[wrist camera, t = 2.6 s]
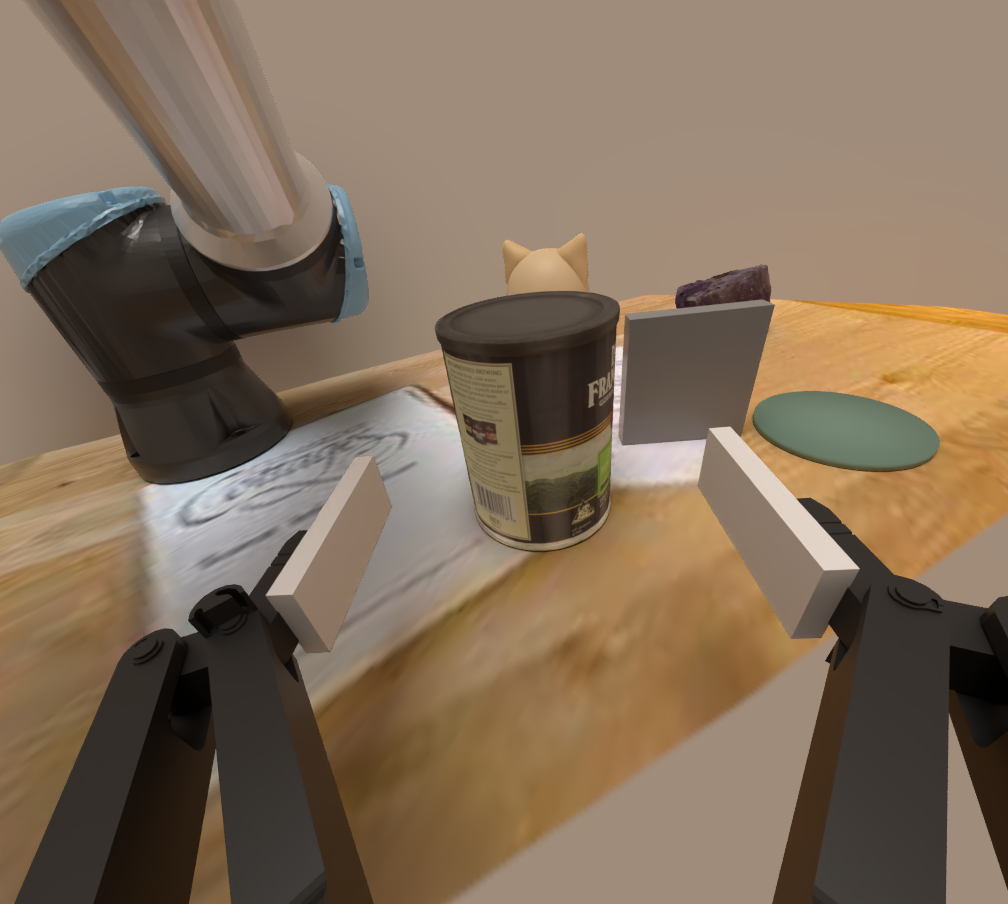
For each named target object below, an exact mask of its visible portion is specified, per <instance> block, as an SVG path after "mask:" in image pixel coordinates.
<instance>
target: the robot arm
mask: <svg viewBox="0 0 1008 904" xmlns="http://www.w3.org/2000/svg"><path fill="white" fill-rule="evenodd" d="M22 1H23V2H24V3H25V4H26V6H27V7H28V8H29V9H30V11H31V12H32V13H33V14H34V15H35V17H36V18H37V20H38V21H39V22H40V23H41V25H42V26H43V27H44V28H45V30H46V31H47V32H48V33H49V35H50V36H51V37H52V38H53V40H54V41H55V42H56V43H57V45H58V46H59V47H60V48H61V50H62V51H63V52H64V53H65V55H66V56H67V57H68V58H69V60H70V61H71V62H72V64H73V65H74V66H75V67H76V69H77V70H78V71H79V72H80V74H81V75H82V76H83V77H84V79H85V80H86V81H87V82H88V84H89V85H90V86H91V87H92V89H93V90H94V91H95V93H96V94H97V95H98V96H99V97H100V99H101V100H102V101H103V103H104V104H105V105H106V106H107V108H108V109H109V110H110V111H111V113H112V114H113V115H114V116H115V117H116V119H117V120H118V122H119V123H120V124H121V125H122V127H123V128H124V129H125V130H126V132H127V133H128V134H129V135H130V137H131V138H132V139H133V140H134V141H135V143H136V144H137V145H138V147H139V148H140V149H141V150H142V152H143V153H144V154H145V155H146V157H147V158H148V159H149V160H150V162H151V163H152V164H153V165H154V167H155V168H156V169H157V171H158V172H159V173H160V174H161V176H162V177H163V178H164V179H165V181H166V182H167V183H168V184H169V186H170V187H171V195H170V205H167V203H166V201H165V199H164V198H162V197H161V196H160V195H159V194H158V193H157V192H156V191H155V190H154V189H152V188H148V187H123V188H115V189H109V190H105V191H101V192H94V193H93V192H89V193H84V194H79V195H75V196H70V197H65V198H61V199H57V200H53V201H49V202H45V203H42V204H39V205H35V206H32V207H29V208H26V209H23V210H20V211H17V212H15V213H13V214H11V215H9V216H7V217H5V218H4V219H3V220H2V221H1V222H0V250H1V251H2V253H3V255H4V256H5V258H6V259H7V261H8V262H9V264H10V266H11V267H12V269H13V270H14V272H15V274H16V275H17V277H18V278H19V280H20V283H21V286H22V287H23V289H24V290H25V291H26V292H28V293H30V294H31V296H32V297H33V298H34V300H35V301H36V302H37V304H38V305H39V306H40V308H41V309H42V310H43V311H44V313H45V314H46V315H47V317H48V318H49V319H50V321H51V322H52V323H53V325H54V326H55V327H56V329H57V330H58V331H59V332H60V334H61V335H62V336H63V338H64V339H65V340H66V342H67V343H68V344H69V346H70V347H71V348H72V350H73V351H74V352H75V353H76V355H77V356H78V357H79V359H80V360H81V361H82V363H83V364H84V365H85V366H86V368H87V369H88V371H89V372H90V373H91V375H92V376H93V377H94V378H95V380H96V381H97V382H98V384H99V385H100V386H101V388H102V389H103V390H104V392H105V393H106V394H107V396H108V397H109V399H110V400H111V402H112V404H113V407H114V411H115V414H116V417H117V421H118V425H119V429H120V433H121V436H122V440H123V443H124V447H125V449H126V454H127V458H128V460H129V462H130V463H131V464H132V466H133V467H134V468H135V469H136V471H137V472H138V473H139V475H140V476H141V477H142V478H143V479H144V480H146V481H149V482H153V483H176V482H183V481H189V480H193V479H198V478H201V477H205V476H209V475H212V474H215V473H218V472H221V471H224V470H226V469H229V468H231V467H234V466H236V465H238V464H241V463H243V462H245V461H247V460H249V459H251V458H253V457H255V456H257V455H258V454H260V453H262V452H263V451H265V450H267V449H268V448H270V447H271V446H272V445H274V444H275V443H276V442H278V441H279V440H280V439H281V438H282V437H283V436H284V435H285V434H286V433H287V431H288V430H289V428H290V426H291V422H292V420H291V417H290V415H289V413H288V411H287V409H286V407H285V405H284V403H283V402H282V400H281V399H280V398H279V397H278V396H277V395H276V394H275V393H274V392H273V391H272V390H271V389H270V388H269V387H268V386H267V385H266V384H265V383H264V382H263V381H262V380H261V379H260V378H259V377H258V375H257V374H255V372H254V371H253V370H252V369H251V368H250V367H249V366H248V365H247V364H246V363H245V361H244V360H243V358H242V356H241V354H240V352H239V350H238V348H237V346H236V344H235V342H234V340H238V339H244V338H248V337H253V336H258V335H263V334H268V333H274V332H279V331H284V330H289V329H294V328H299V327H304V326H310V325H316V324H321V323H326V322H331V323H335V322H339V321H340V320H341V319H344V318H348V317H352V316H356V315H359V314H361V313H362V312H364V311H365V309H366V308H367V305H368V302H369V288H368V280H367V273H366V267H365V264H364V261H363V254H362V246H361V241H360V237H359V232H358V228H357V224H356V221H355V217H354V213H353V210H352V207H351V204H350V201H349V199H348V196H347V194H346V192H345V191H344V190H343V189H342V188H341V187H339V186H336V185H330V184H329V183H328V184H327V183H325V181H324V179H323V178H322V176H321V175H320V173H319V171H317V169H316V168H315V167H314V166H313V165H312V164H311V163H310V162H309V161H308V160H307V159H305V158H304V157H303V156H301V155H300V154H298V153H297V152H295V151H294V150H293V148H292V145H291V142H290V140H289V137H288V135H287V132H286V129H285V127H284V124H283V122H282V119H281V116H280V114H279V111H278V109H277V106H276V103H275V101H274V98H273V96H272V93H271V90H270V88H269V85H268V83H267V80H266V77H265V75H264V72H263V70H262V67H261V64H260V62H259V59H258V56H257V54H256V51H255V49H254V46H253V43H252V41H251V38H250V36H249V33H248V30H247V28H246V25H245V23H244V20H243V17H242V15H241V12H240V10H239V7H238V5H237V2H236V0H22ZM698 487H699V489H700V491H701V492H702V494H703V495H704V497H705V499H706V500H707V502H708V504H709V505H710V507H711V509H712V510H713V512H714V514H715V515H716V517H717V518H718V520H719V522H720V523H721V525H722V527H723V528H724V530H725V532H726V533H727V535H728V537H729V538H730V540H731V541H732V543H733V545H734V546H735V548H736V550H737V551H738V553H739V555H740V556H741V558H742V559H743V561H744V563H745V564H746V566H747V568H748V569H749V571H750V573H751V574H752V576H753V578H754V579H755V581H756V582H757V584H758V586H759V587H760V589H761V591H762V592H763V594H764V596H765V597H766V599H767V601H768V602H769V604H770V605H771V607H772V609H773V610H774V612H775V614H776V615H777V617H778V619H779V620H780V622H781V623H782V625H783V627H784V628H785V630H786V632H787V633H788V635H789V637H790V638H791V639H801V638H821V637H822V636H823V634H824V632H825V630H826V629H827V627H828V625H830V626H831V628H832V629H833V630H834V632H835V633H836V635H837V636H838V637H839V639H838V640H837V642H836V644H835V646H834V647H833V649H832V650H831V652H830V654H829V655H828V657H827V659H826V660H825V661H826V662H828V663H830V667H829V671H828V675H827V679H826V683H825V687H824V692H823V696H822V700H821V704H820V709H819V712H818V717H817V720H816V725H815V729H814V733H813V737H812V741H811V746H810V750H809V754H808V758H807V762H806V766H805V770H804V774H803V779H802V783H801V787H800V791H799V795H798V799H797V803H796V808H795V812H794V816H793V820H792V824H791V828H790V832H789V837H788V841H787V845H786V849H785V853H784V858H783V862H782V866H781V870H780V874H779V878H778V882H777V886H776V891H775V895H774V899H773V903H772V904H946V855H947V849H946V848H947V790H948V789H947V788H948V786H947V785H948V723H949V714H950V717H951V720H952V723H953V726H954V729H955V732H956V735H957V738H958V741H959V744H960V747H961V750H962V753H963V756H964V759H965V762H966V765H967V768H968V771H969V774H970V777H971V780H972V783H973V786H974V790H975V793H976V796H977V799H978V801H979V804H980V808H981V811H982V813H983V817H984V820H985V823H986V826H987V829H988V832H989V835H990V838H991V841H992V844H993V847H994V850H995V853H996V856H997V859H998V862H999V865H1000V868H1001V871H1002V874H1003V877H1004V880H1005V883H1006V886H1007V889H1008V596H1006V597H999V598H998V599H997V600H996V601H995V602H994V603H993V604H992V605H991V606H990V607H989V608H983V607H977V606H973V605H967V604H962V603H957V602H952V601H946V600H943V599H942V598H941V597H940V596H939V595H938V594H937V593H935V592H934V591H933V590H931V589H930V588H928V587H927V586H925V585H923V584H921V583H919V582H916V581H914V580H912V579H909V578H905V577H901V576H897V575H894V574H893V573H892V572H891V571H890V570H889V569H888V568H887V567H886V566H885V565H884V564H883V563H882V562H881V561H880V560H879V559H878V558H877V557H876V556H875V555H874V554H873V553H872V552H871V551H870V550H869V549H868V548H867V547H866V546H865V545H864V544H863V543H862V542H861V541H860V540H859V539H858V538H857V537H856V536H855V535H852V532H851V531H850V530H849V529H848V528H847V527H846V526H845V525H844V524H842V523H841V520H840V519H839V518H838V517H837V516H836V515H835V514H834V513H833V512H832V511H831V510H830V509H829V508H827V507H825V506H824V505H822V504H820V503H818V502H817V501H815V500H813V499H812V498H799V499H796V498H795V497H794V496H793V495H792V494H791V493H790V492H789V491H788V489H787V488H786V487H785V486H784V485H783V484H782V483H781V482H780V481H779V480H778V478H777V477H776V476H775V475H774V474H773V473H772V472H771V471H770V470H769V469H768V467H767V466H766V465H765V464H764V463H763V462H762V461H761V460H760V459H759V458H758V456H757V455H756V454H755V453H754V452H753V451H752V450H751V449H750V448H749V447H748V445H747V444H746V443H745V442H744V441H743V440H742V439H741V438H740V437H739V436H738V435H737V433H736V432H735V431H734V430H733V429H732V428H731V427H719V428H709V430H708V435H707V441H706V446H705V451H704V456H703V462H702V467H701V472H700V477H699V483H698ZM391 507H392V506H391V503H390V500H389V498H388V495H387V492H386V489H385V487H384V484H383V481H382V478H381V476H380V473H379V470H378V467H377V465H376V462H375V459H374V457H373V456H362V457H355V458H354V460H353V461H352V463H351V464H350V466H349V468H348V469H347V471H346V472H345V474H344V475H343V477H342V478H341V480H340V481H339V483H338V485H337V486H336V488H335V489H334V491H333V492H332V494H331V495H330V497H329V498H328V500H327V502H326V503H325V505H324V506H323V508H322V509H321V511H320V512H319V514H318V515H317V517H316V519H315V520H314V522H313V523H312V525H311V526H310V528H309V529H308V530H303V531H298V532H297V533H296V534H295V535H294V536H292V537H291V538H290V539H289V540H288V541H287V542H286V543H285V544H284V546H283V547H282V549H281V550H280V552H279V553H278V557H275V559H274V560H273V562H272V563H271V567H269V568H268V569H267V571H266V572H265V573H264V575H263V576H262V578H261V579H260V581H259V582H258V584H257V585H256V587H255V588H254V589H253V591H252V592H251V594H250V595H249V596H248V594H247V593H246V592H245V590H244V589H243V588H242V586H239V585H235V584H233V585H226V586H223V587H220V588H218V589H215V590H214V591H212V592H211V593H209V594H207V595H206V596H204V597H203V598H202V599H201V600H200V601H199V602H198V603H197V604H196V605H195V606H194V608H193V609H192V611H191V612H190V615H189V619H188V621H189V622H190V623H191V624H192V625H193V626H194V627H195V628H196V629H197V630H198V632H197V633H194V634H191V635H188V636H184V637H180V636H179V635H178V634H177V633H176V632H175V631H174V630H173V629H166V628H165V629H161V630H157V631H154V632H152V633H150V634H148V635H146V636H144V637H143V638H141V639H140V640H139V641H137V642H136V643H135V644H133V645H132V646H131V647H130V648H129V649H128V650H127V651H126V652H125V653H124V655H123V656H122V658H121V659H120V661H119V662H118V665H117V667H116V669H115V671H114V674H113V676H112V678H111V681H110V683H109V685H108V688H107V690H106V692H105V695H104V697H103V699H102V702H101V704H100V706H99V709H98V711H97V713H96V716H95V718H94V720H93V722H92V725H91V727H90V729H89V732H88V734H87V736H86V739H85V741H84V743H83V746H82V748H81V750H80V753H79V755H78V757H77V760H76V762H75V764H74V767H73V769H72V771H71V773H70V776H69V778H68V780H67V783H66V785H65V787H64V790H63V792H62V794H61V797H60V799H59V801H58V804H57V806H56V808H55V811H54V813H53V815H52V818H51V820H50V822H49V824H48V827H47V829H46V831H45V834H44V836H43V838H42V841H41V843H40V845H39V848H38V850H37V852H36V855H35V857H34V859H33V862H32V864H31V866H30V869H29V871H28V873H27V875H26V878H25V880H24V882H23V885H22V887H21V889H20V892H19V894H18V896H17V899H16V901H15V903H14V904H189V900H190V894H191V888H192V882H193V876H194V871H195V865H196V859H197V853H198V847H199V842H200V836H201V830H202V824H203V818H204V813H205V807H206V801H207V795H208V789H209V784H210V778H211V772H212V766H213V760H214V755H215V749H216V752H217V762H218V772H219V782H220V792H221V802H222V813H223V823H224V833H225V843H226V853H227V863H228V873H229V884H230V894H231V904H374V903H373V900H372V897H371V894H370V891H369V888H368V884H367V881H366V878H365V875H364V872H363V869H362V865H361V862H360V859H359V856H358V853H357V850H356V846H355V843H354V840H353V837H352V834H351V831H350V827H349V824H348V821H347V818H346V815H345V812H344V808H343V805H342V802H341V799H340V796H339V793H338V789H337V786H336V783H335V780H334V777H333V774H332V770H331V767H330V764H329V761H328V758H327V755H326V751H325V748H324V745H323V742H322V739H321V736H320V732H319V729H318V726H317V723H316V720H315V717H314V713H313V710H312V707H311V704H310V701H309V698H308V694H307V691H306V688H305V685H304V682H303V679H302V675H301V672H300V669H299V666H298V663H297V660H296V658H295V657H294V656H293V652H294V650H295V648H296V646H297V644H298V642H299V643H300V645H301V646H302V648H303V649H304V650H305V652H306V653H320V652H330V651H331V649H332V647H333V644H334V642H335V639H336V637H337V635H338V632H339V630H340V628H341V625H342V623H343V621H344V618H345V616H346V614H347V611H348V609H349V606H350V604H351V602H352V599H353V597H354V595H355V592H356V590H357V588H358V585H359V583H360V581H361V578H362V576H363V573H364V571H365V569H366V566H367V564H368V562H369V559H370V557H371V555H372V552H373V550H374V548H375V545H376V543H377V540H378V538H379V536H380V533H381V531H382V529H383V526H384V524H385V522H386V519H387V517H388V515H389V512H390V510H391Z"/></svg>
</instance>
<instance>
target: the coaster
mask: <svg viewBox="0 0 1008 904" xmlns="http://www.w3.org/2000/svg"><path fill="white" fill-rule="evenodd" d="M753 423H754V426H755V428H756V430H757V431H758V432H759V433H760V434H761V435H762V436H763V437H764V438H765V439H766V440H768V441H769V442H771V443H772V444H774V445H775V446H777V447H779V448H781V449H783V450H785V451H787V452H789V453H791V454H794V455H796V456H799V457H802V458H805V459H808V460H811V461H814V462H818V463H821V464H825V465H830V466H834V467H839V468H846V469H852V470H862V471H897V470H905V469H910V468H914V467H917V466H920V465H922V464H924V463H926V462H928V461H929V460H930V459H931V458H933V456H934V454H935V453H936V451H937V449H938V447H939V443H940V440H939V437H938V435H937V433H936V432H935V430H934V429H933V428H932V427H931V426H930V425H928V424H927V423H926V422H924V421H923V420H921V419H920V418H918V417H917V416H915V415H913V414H911V413H909V412H907V411H904V410H902V409H900V408H897V407H895V406H892V405H889V404H886V403H883V402H880V401H876V400H872V399H869V398H864V397H859V396H854V395H849V394H842V393H834V392H820V391H802V392H790V393H784V394H779V395H775V396H772V397H769V398H767V399H765V400H763V401H762V402H760V403H759V404H758V405H757V407H756V409H755V411H754V415H753Z"/></svg>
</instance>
